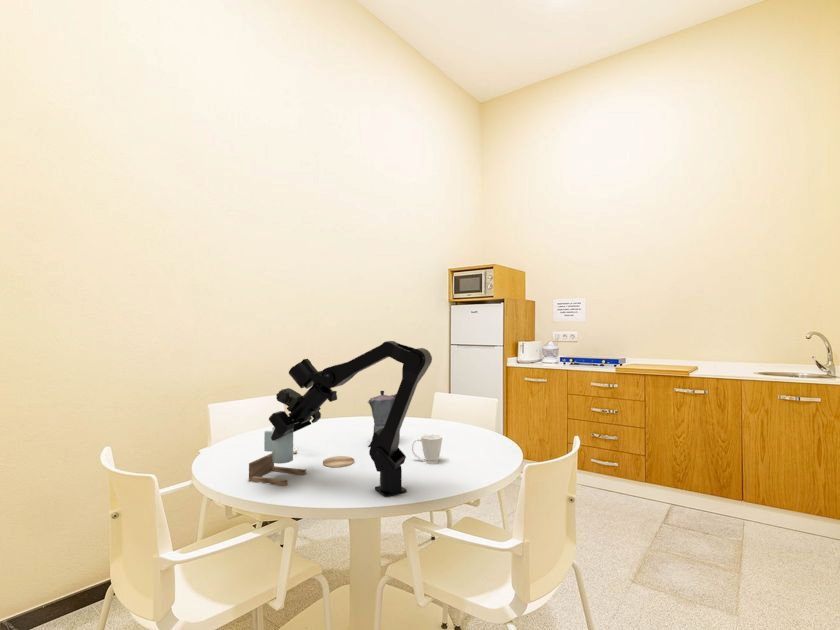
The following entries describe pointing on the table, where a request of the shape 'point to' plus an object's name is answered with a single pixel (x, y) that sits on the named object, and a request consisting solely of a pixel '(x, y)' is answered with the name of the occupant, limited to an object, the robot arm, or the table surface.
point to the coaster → (338, 461)
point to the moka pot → (381, 409)
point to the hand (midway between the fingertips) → (278, 436)
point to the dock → (266, 466)
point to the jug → (279, 447)
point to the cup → (430, 447)
